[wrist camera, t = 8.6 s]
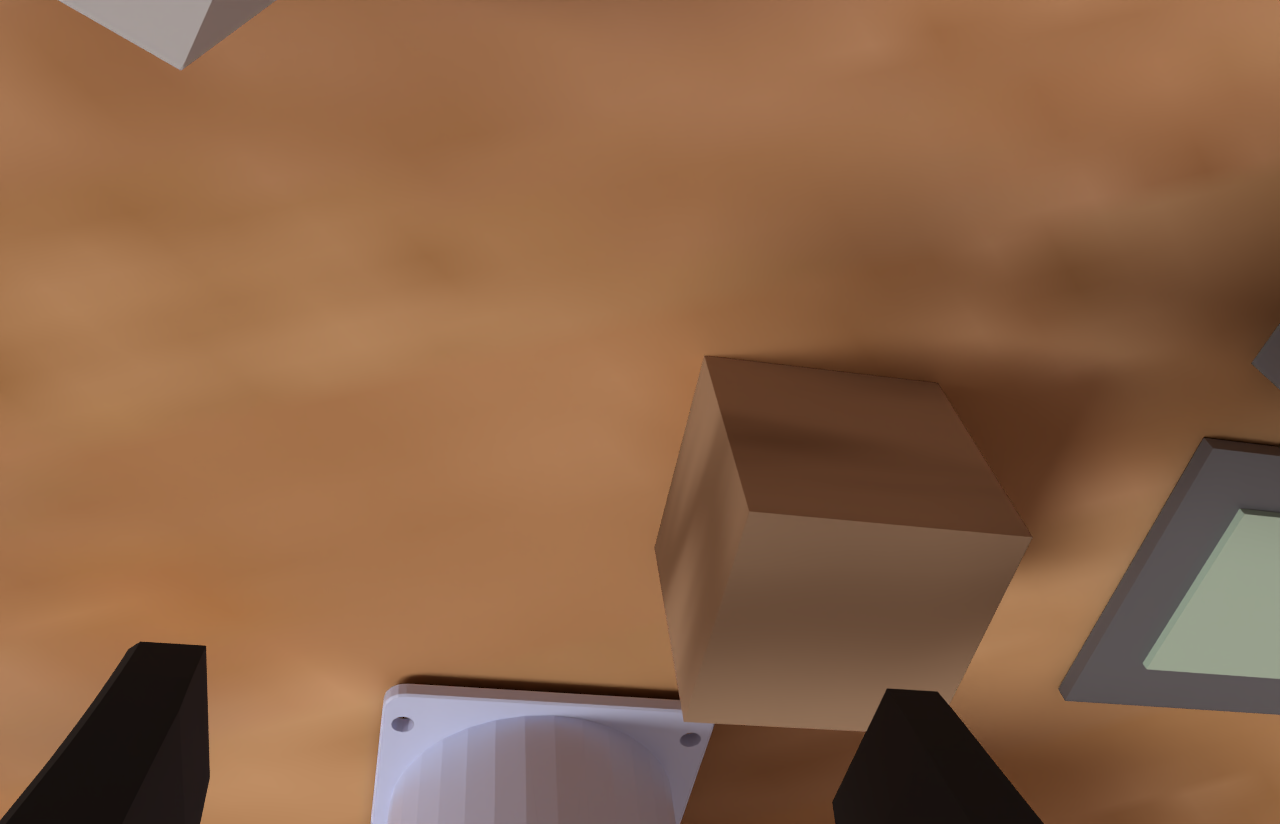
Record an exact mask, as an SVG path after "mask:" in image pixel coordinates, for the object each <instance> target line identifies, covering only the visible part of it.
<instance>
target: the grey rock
mask: <svg viewBox="0 0 1280 824" xmlns="http://www.w3.org/2000/svg"><path fill="white" fill-rule="evenodd" d="M59 1H61V2H62V3H64V4H66V5H68V6H69V7H71V8H73V9H75V10H76V11H78V12H80V13H82V14H83V15H85V16H87V17H89V18H90V19H92V20H94V21H96V22H97V23H99V24H101V25H102V26H104V27H106V28H108V29H109V30H111V31H113V32H115V33H116V34H118V35H120V36H122V37H123V38H125V39H127V40H129V41H130V42H132V43H134V44H136V45H137V46H139V47H141V48H143V49H144V50H146V51H148V52H150V53H151V54H153V55H155V56H157V57H158V58H160V59H162V60H164V61H165V62H167V63H169V64H171V65H172V66H174V67H176V68H178V69H179V70H182V69H184V68H185V67H187V66H188V65H189V64H191V63H192V62H193V61H195V60H196V59H197V58H199V57H200V56H201V55H203V54H204V53H205V52H207V51H208V50H210V49H211V48H212V47H214V46H215V45H216V44H218V43H219V42H220V41H222V40H223V39H224V38H226V37H227V36H228V35H230V34H231V33H233V32H234V31H235V30H237V29H238V28H239V27H241V26H242V25H243V24H245V23H246V22H247V21H249V20H250V19H251V18H253V17H254V16H256V15H257V14H258V13H260V12H261V11H262V10H264V9H265V8H266V7H268V6H269V5H270V4H272V3H273V2H274V1H276V0H59Z"/></svg>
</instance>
